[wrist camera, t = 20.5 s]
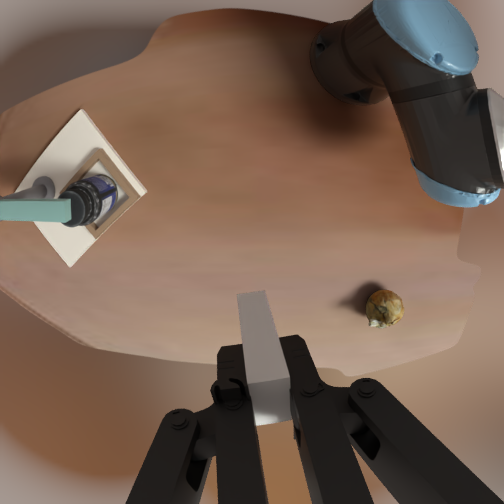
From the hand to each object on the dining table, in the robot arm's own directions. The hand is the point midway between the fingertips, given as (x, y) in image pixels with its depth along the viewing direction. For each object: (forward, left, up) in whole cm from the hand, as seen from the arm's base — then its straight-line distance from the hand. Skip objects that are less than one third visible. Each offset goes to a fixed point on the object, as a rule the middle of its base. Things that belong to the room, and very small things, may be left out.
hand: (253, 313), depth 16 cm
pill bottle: (+15, -15, -29) cm, 36 cm away
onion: (-11, +32, -31) cm, 46 cm away
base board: (+19, -19, -30) cm, 41 cm away
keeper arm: (+19, -19, -16) cm, 32 cm away
